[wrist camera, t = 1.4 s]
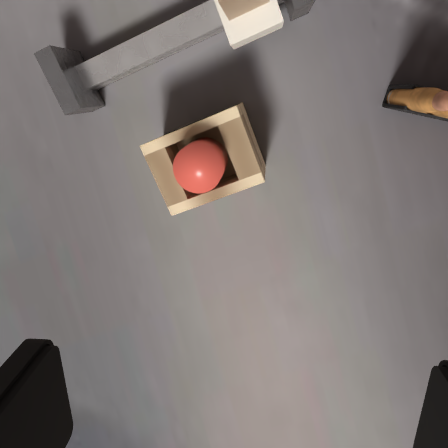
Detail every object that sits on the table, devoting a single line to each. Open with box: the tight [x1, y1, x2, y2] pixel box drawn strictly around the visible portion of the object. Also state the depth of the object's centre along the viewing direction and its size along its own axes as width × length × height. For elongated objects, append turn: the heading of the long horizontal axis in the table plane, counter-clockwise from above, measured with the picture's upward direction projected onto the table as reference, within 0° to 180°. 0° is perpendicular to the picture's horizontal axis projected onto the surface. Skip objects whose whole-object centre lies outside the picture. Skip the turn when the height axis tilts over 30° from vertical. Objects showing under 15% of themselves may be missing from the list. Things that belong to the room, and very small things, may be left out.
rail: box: [34, 0, 315, 115], centre depth 30 cm, size 21×5×5 cm, turn 112°
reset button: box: [173, 137, 228, 193], centre depth 29 cm, size 4×4×4 cm
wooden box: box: [140, 103, 266, 216], centre depth 32 cm, size 8×6×7 cm
